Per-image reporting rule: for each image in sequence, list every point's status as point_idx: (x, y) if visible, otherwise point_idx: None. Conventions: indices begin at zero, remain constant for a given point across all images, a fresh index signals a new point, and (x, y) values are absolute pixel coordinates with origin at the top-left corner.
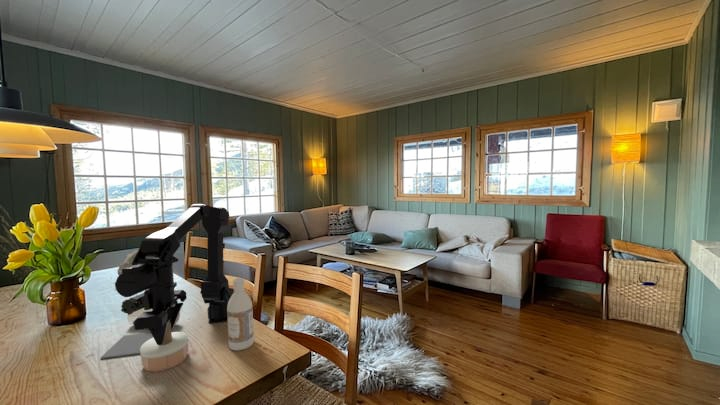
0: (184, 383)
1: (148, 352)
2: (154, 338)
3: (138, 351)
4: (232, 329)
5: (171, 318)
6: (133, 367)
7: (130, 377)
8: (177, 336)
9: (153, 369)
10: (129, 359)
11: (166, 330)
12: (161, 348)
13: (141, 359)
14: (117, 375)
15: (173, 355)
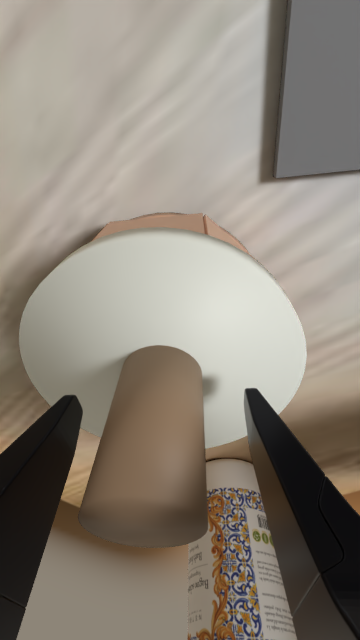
0: (32, 406)
1: (35, 338)
2: (11, 447)
3: (307, 72)
4: (193, 557)
5: (279, 537)
6: (117, 158)
7: (29, 202)
8: (222, 410)
9: None
10: (223, 44)
11: (39, 543)
12: (85, 385)
13: (97, 235)
14: (32, 93)
15: None
